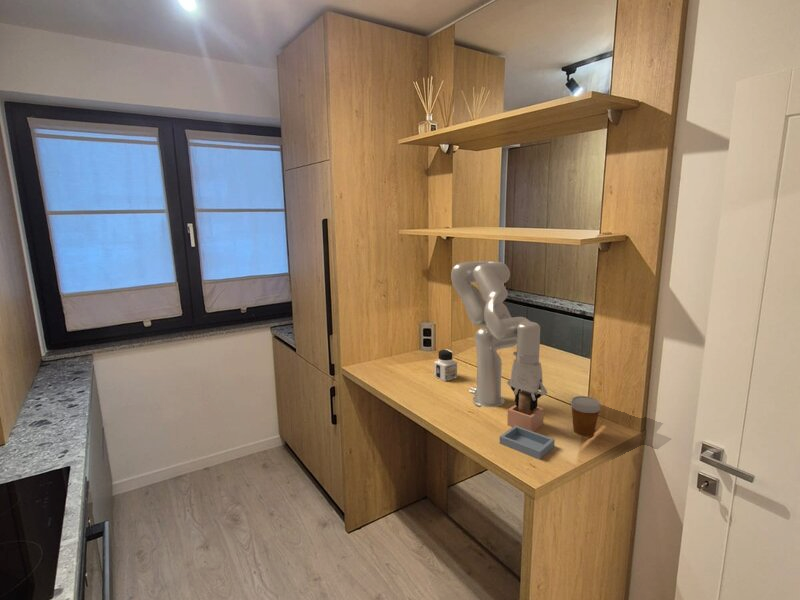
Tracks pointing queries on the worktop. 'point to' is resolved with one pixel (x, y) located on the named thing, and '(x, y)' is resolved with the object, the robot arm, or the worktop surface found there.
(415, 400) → the worktop surface
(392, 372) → the worktop surface
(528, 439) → the tray
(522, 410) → the peg
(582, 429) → the disposable coffee cup
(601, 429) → the worktop surface
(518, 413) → the terracotta open box
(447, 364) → the container
